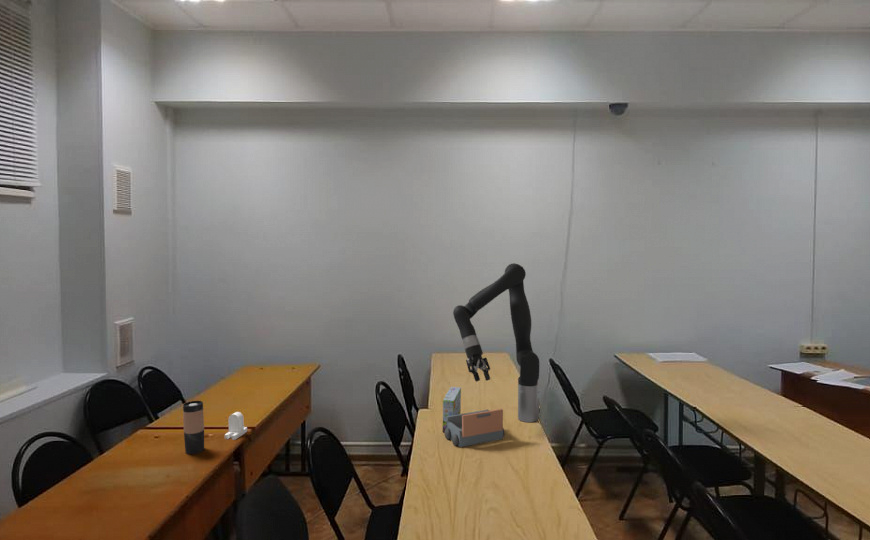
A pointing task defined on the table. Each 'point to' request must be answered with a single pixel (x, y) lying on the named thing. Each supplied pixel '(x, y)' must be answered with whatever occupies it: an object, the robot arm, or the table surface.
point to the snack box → (451, 404)
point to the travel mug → (193, 427)
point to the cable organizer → (236, 426)
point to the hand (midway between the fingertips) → (483, 380)
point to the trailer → (455, 434)
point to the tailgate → (482, 422)
